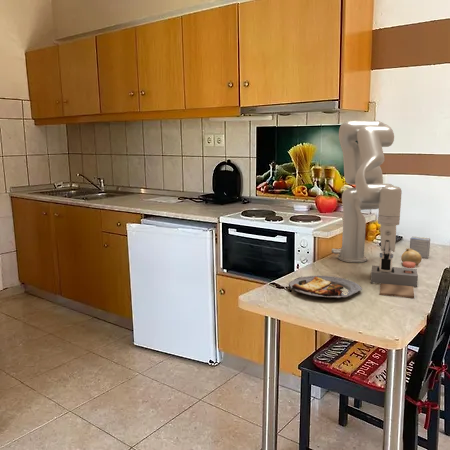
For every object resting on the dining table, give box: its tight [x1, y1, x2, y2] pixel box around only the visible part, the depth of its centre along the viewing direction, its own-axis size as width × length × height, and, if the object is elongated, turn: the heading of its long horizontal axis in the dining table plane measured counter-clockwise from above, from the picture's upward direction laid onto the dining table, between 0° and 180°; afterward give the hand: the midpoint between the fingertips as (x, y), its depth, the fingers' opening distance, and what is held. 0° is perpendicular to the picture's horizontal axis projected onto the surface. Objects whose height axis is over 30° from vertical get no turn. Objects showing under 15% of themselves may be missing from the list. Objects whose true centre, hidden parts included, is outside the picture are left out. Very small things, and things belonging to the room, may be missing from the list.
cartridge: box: [379, 252, 394, 272], centre depth 176 cm, size 5×5×10 cm
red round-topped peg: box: [402, 261, 416, 273], centre depth 174 cm, size 4×4×7 cm
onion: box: [400, 247, 423, 267], centre depth 198 cm, size 8×8×7 cm
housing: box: [370, 264, 419, 288], centre depth 176 cm, size 16×10×4 cm, turn 71°
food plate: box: [288, 275, 363, 299], centre depth 165 cm, size 25×23×4 cm
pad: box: [379, 283, 415, 299], centre depth 164 cm, size 11×11×1 cm
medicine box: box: [409, 236, 431, 259], centre depth 212 cm, size 8×4×9 cm, turn 58°
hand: (385, 267), depth 176 cm, fingers closed on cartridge, 4 cm apart
